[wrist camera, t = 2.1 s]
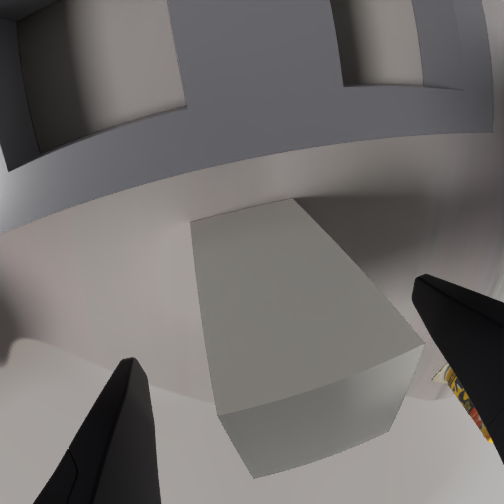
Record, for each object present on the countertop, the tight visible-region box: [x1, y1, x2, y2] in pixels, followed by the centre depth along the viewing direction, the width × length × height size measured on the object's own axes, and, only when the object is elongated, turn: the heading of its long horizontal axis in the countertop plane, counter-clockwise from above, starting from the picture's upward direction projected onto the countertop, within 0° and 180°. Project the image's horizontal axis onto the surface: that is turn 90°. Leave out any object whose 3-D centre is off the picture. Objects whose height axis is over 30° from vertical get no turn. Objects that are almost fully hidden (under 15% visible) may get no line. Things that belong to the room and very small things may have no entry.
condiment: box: [431, 363, 493, 443], centre depth 19 cm, size 7×8×12 cm
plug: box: [190, 198, 425, 479], centre depth 9 cm, size 4×4×8 cm
